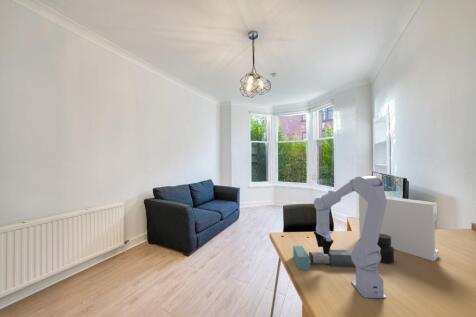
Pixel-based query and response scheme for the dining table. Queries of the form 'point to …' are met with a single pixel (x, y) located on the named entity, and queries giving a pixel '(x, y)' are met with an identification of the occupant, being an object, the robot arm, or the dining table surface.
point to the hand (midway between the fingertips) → (323, 250)
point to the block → (407, 225)
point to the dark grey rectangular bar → (341, 258)
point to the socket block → (301, 258)
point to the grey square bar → (319, 257)
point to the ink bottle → (386, 249)
